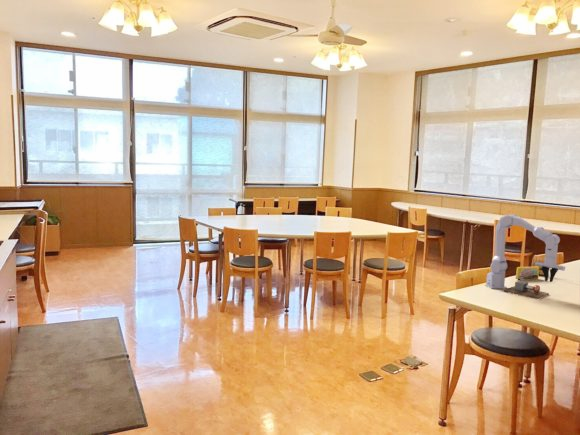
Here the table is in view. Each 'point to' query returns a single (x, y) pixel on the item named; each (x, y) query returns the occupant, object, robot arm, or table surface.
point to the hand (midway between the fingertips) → (548, 281)
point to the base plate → (527, 293)
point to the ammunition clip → (538, 266)
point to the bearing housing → (520, 286)
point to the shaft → (533, 288)
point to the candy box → (527, 272)
